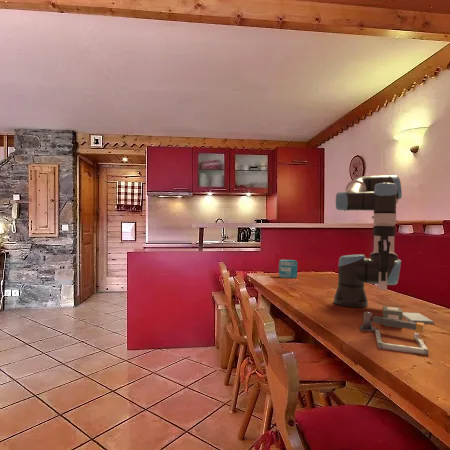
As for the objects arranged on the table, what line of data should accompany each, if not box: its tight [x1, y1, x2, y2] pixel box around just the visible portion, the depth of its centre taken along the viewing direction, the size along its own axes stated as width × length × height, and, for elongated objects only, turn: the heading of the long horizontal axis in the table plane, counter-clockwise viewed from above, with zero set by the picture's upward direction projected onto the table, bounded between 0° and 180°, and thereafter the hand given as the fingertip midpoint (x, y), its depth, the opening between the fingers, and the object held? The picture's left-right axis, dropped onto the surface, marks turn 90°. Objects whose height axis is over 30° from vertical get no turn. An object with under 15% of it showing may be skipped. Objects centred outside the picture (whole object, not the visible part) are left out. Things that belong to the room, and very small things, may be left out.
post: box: [359, 311, 376, 333], centre depth 123 cm, size 5×5×6 cm
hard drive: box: [402, 311, 435, 325], centre depth 138 cm, size 2×8×12 cm
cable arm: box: [372, 315, 425, 333], centre depth 117 cm, size 16×3×2 cm, turn 54°
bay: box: [374, 327, 429, 356], centre depth 110 cm, size 16×13×2 cm
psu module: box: [382, 305, 403, 329], centre depth 130 cm, size 7×6×6 cm
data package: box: [278, 259, 298, 279], centre depth 235 cm, size 12×4×12 cm, turn 87°
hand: (382, 289), depth 125 cm, fingers closed
